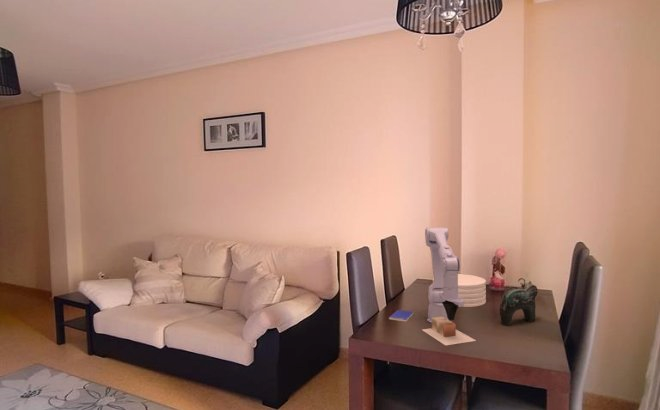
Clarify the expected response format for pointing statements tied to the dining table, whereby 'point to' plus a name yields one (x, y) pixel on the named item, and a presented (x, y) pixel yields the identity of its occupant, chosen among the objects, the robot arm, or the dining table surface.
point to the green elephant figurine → (518, 302)
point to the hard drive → (401, 315)
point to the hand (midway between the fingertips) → (451, 319)
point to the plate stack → (471, 290)
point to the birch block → (443, 326)
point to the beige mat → (449, 340)
